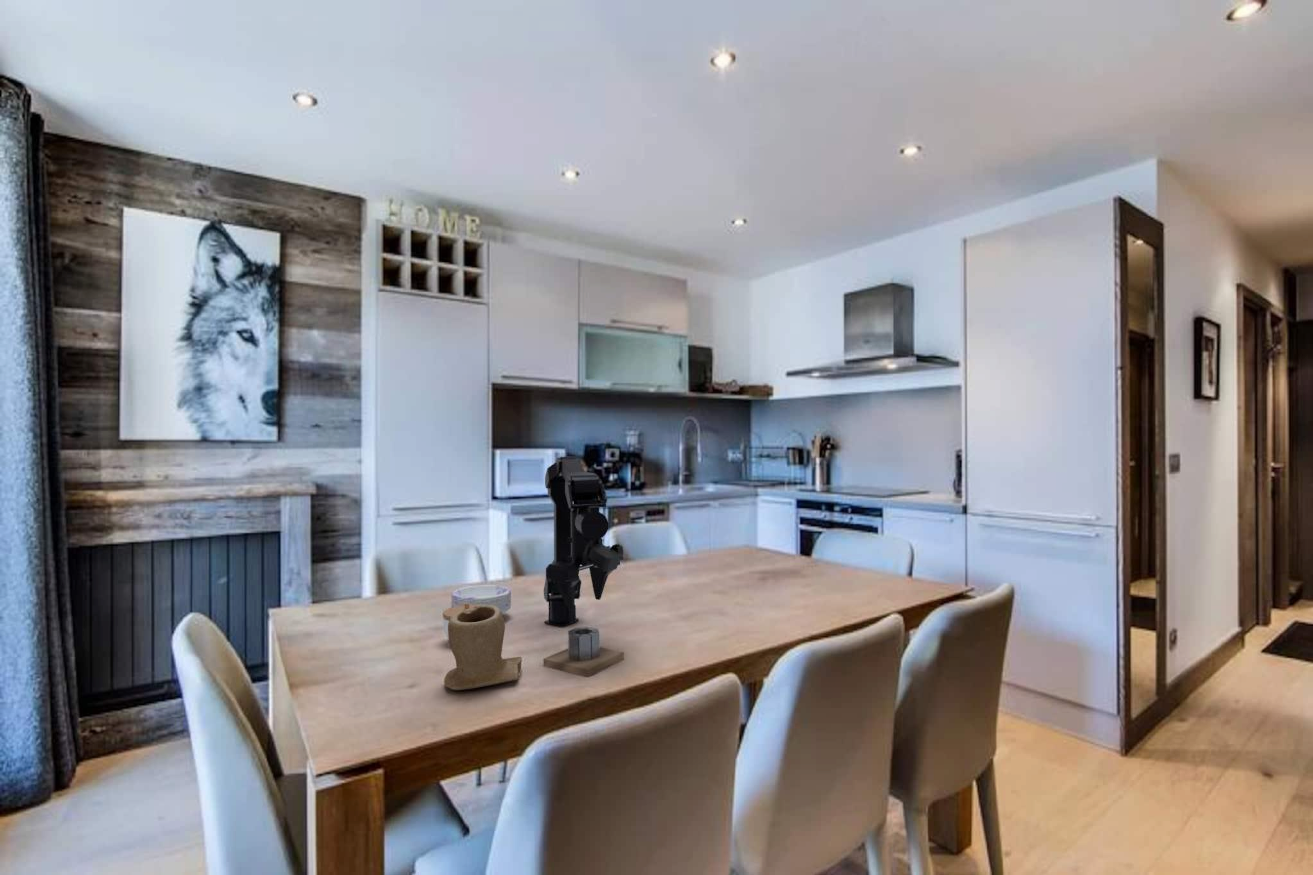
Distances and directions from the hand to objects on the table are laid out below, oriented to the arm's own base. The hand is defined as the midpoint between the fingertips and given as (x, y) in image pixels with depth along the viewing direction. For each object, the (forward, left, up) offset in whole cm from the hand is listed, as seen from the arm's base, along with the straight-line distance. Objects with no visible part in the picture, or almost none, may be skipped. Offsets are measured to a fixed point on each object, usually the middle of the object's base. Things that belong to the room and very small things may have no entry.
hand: (584, 604), depth 136 cm
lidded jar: (-30, -7, -12) cm, 33 cm away
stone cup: (-7, -22, -12) cm, 26 cm away
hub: (+2, -3, -10) cm, 10 cm away
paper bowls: (-42, +8, -12) cm, 45 cm away
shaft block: (+2, -3, -12) cm, 12 cm away
